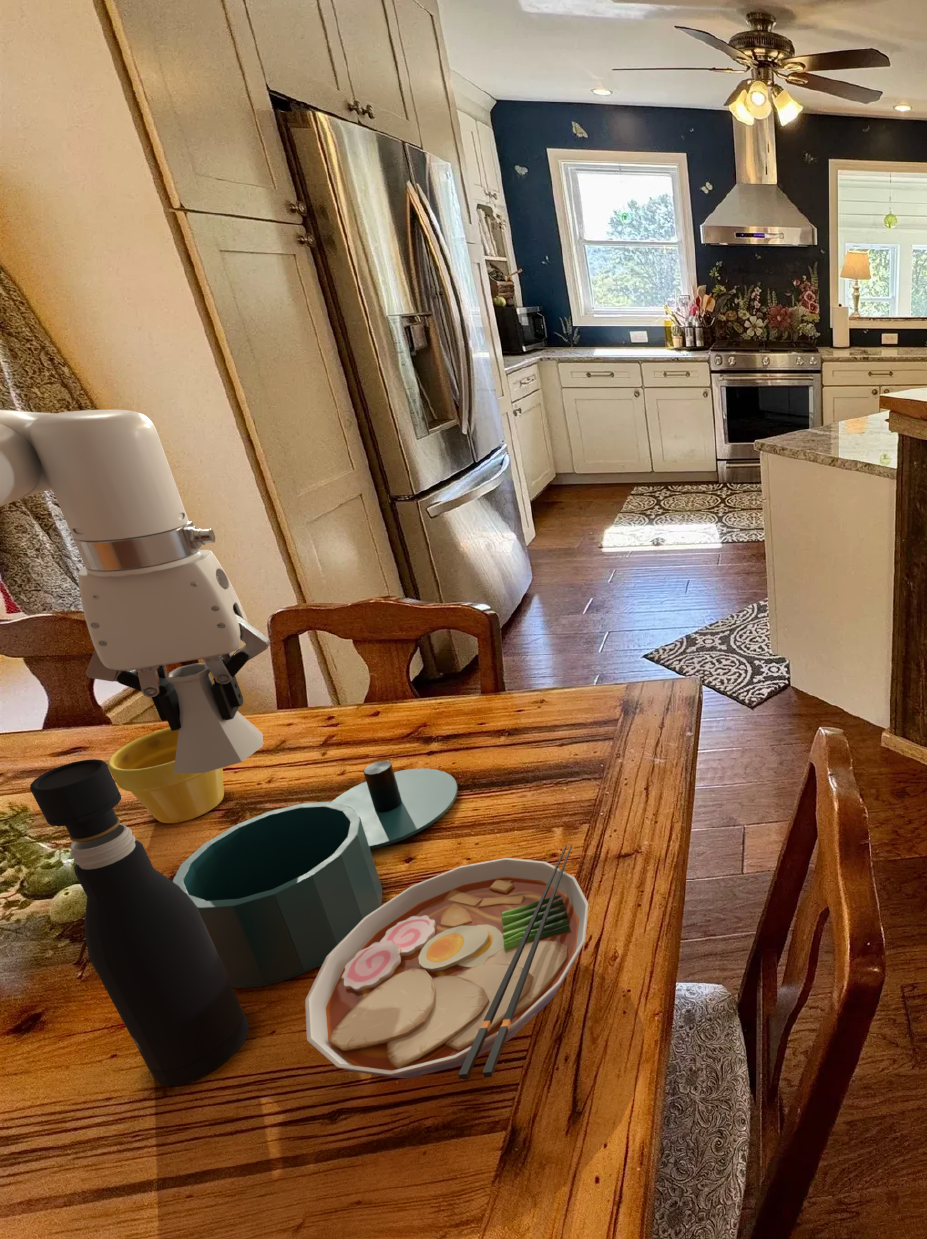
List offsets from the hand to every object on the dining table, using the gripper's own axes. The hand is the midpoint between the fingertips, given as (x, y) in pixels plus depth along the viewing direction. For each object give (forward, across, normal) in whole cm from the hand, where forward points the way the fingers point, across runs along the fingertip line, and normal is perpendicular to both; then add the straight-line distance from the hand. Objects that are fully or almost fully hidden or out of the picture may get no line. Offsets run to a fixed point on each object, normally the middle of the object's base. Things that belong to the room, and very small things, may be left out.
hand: (206, 717), depth 71 cm
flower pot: (+23, +12, -23) cm, 35 cm away
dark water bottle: (+23, +2, +20) cm, 31 cm away
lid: (+23, -11, -10) cm, 27 cm away
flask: (+5, 0, 0) cm, 5 cm away
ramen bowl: (+23, -19, +26) cm, 40 cm away
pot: (+23, -3, +7) cm, 25 cm away
